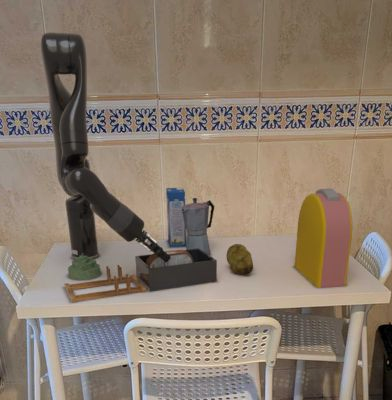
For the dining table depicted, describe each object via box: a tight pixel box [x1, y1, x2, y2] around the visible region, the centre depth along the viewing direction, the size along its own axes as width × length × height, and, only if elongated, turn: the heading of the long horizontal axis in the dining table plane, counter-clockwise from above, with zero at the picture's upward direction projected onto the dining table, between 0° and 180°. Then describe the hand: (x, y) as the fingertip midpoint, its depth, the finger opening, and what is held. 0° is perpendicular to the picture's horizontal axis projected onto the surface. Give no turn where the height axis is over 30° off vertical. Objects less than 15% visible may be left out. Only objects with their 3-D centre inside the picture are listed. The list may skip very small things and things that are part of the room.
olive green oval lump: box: [226, 243, 254, 276], centre depth 160 cm, size 8×13×8 cm, turn 178°
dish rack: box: [63, 264, 147, 303], centre depth 147 cm, size 13×22×5 cm, turn 112°
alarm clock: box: [294, 188, 354, 289], centre depth 151 cm, size 21×9×26 cm, turn 9°
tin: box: [146, 249, 194, 268], centre depth 153 cm, size 15×3×8 cm, turn 111°
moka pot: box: [181, 197, 215, 256], centre depth 175 cm, size 10×15×20 cm, turn 137°
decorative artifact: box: [67, 253, 101, 281], centre depth 159 cm, size 10×7×10 cm
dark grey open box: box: [134, 248, 218, 292], centre depth 154 cm, size 14×21×7 cm
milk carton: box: [165, 187, 187, 248], centre depth 188 cm, size 10×6×20 cm, turn 6°
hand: (163, 256), depth 151 cm, fingers open, 8 cm apart
